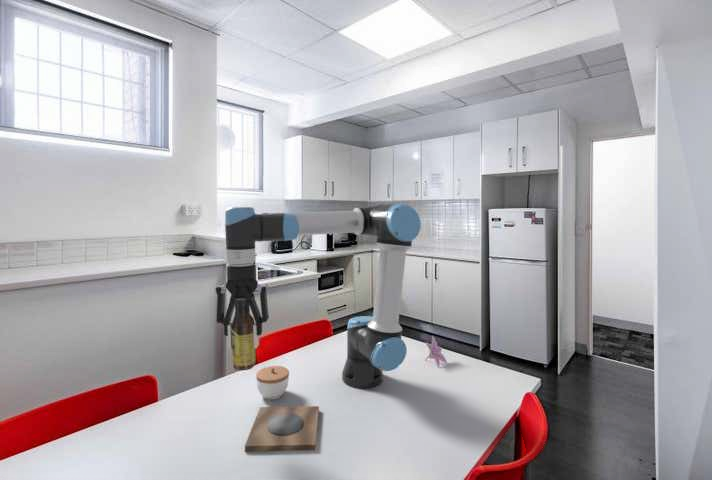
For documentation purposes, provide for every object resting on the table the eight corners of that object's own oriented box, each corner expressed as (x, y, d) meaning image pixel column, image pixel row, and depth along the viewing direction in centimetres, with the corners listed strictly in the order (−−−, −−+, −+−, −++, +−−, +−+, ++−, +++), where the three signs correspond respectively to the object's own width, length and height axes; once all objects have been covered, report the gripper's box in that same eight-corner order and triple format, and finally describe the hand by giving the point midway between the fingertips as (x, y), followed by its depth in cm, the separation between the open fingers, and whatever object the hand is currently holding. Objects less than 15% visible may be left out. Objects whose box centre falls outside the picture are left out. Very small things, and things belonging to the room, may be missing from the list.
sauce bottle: (236, 362, 101) (233, 294, 99) (258, 361, 102) (256, 293, 100) (229, 372, 95) (227, 300, 93) (253, 372, 95) (251, 299, 93)
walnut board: (318, 410, 109) (319, 405, 109) (315, 450, 91) (315, 443, 91) (260, 411, 108) (260, 406, 108) (244, 451, 90) (244, 444, 90)
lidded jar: (281, 405, 112) (281, 376, 111) (250, 401, 114) (250, 373, 114) (293, 388, 123) (293, 362, 122) (265, 385, 125) (265, 359, 124)
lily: (423, 372, 139) (436, 354, 136) (410, 350, 149) (421, 333, 146) (445, 375, 145) (457, 358, 142) (431, 354, 155) (442, 337, 152)
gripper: (199, 266, 91) (203, 352, 93) (274, 266, 92) (276, 351, 94) (210, 262, 99) (213, 342, 101) (279, 261, 100) (281, 341, 102)
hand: (243, 346), depth 98 cm, fingers closed on sauce bottle, 6 cm apart
